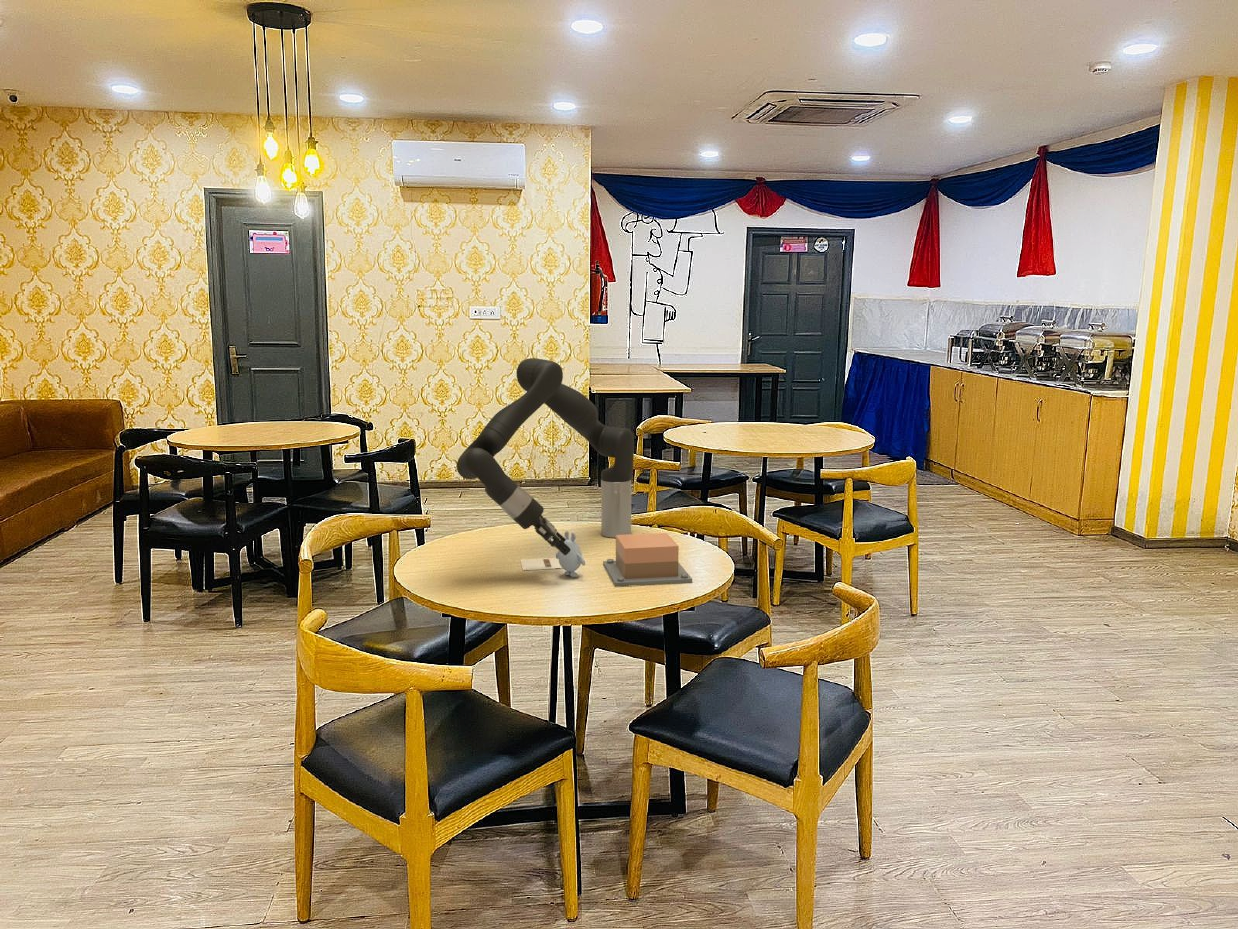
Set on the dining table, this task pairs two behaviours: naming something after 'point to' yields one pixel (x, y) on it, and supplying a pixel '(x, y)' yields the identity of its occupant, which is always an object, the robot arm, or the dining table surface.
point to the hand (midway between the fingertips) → (566, 548)
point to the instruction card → (540, 564)
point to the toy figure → (571, 556)
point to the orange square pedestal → (646, 561)
